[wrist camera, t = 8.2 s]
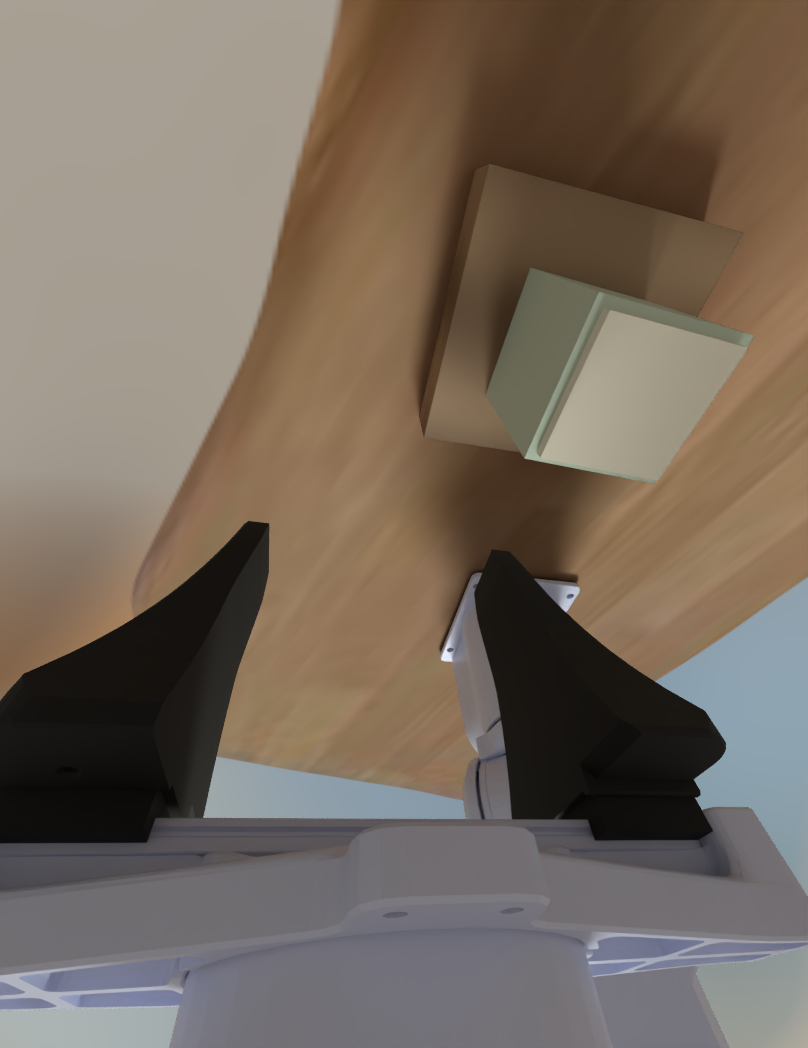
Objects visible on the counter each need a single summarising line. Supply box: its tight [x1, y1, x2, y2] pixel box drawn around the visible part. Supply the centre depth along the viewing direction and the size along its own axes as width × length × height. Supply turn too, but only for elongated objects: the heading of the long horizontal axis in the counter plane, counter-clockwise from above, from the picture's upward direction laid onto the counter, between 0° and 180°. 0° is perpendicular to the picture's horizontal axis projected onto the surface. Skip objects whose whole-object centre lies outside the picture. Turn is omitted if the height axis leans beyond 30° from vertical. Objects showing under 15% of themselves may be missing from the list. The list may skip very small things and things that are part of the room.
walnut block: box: [419, 164, 743, 453], centre depth 19 cm, size 10×10×3 cm
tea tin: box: [486, 268, 754, 484], centre depth 15 cm, size 5×5×6 cm
